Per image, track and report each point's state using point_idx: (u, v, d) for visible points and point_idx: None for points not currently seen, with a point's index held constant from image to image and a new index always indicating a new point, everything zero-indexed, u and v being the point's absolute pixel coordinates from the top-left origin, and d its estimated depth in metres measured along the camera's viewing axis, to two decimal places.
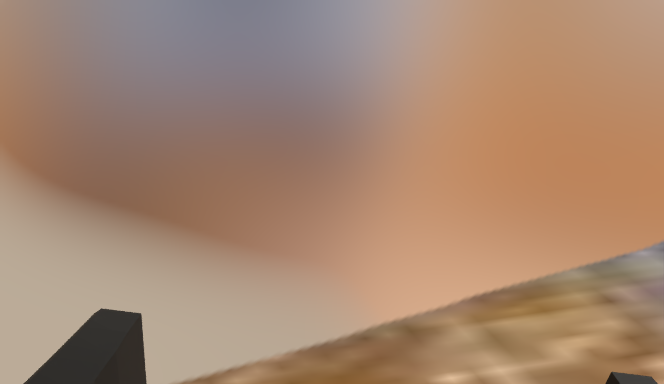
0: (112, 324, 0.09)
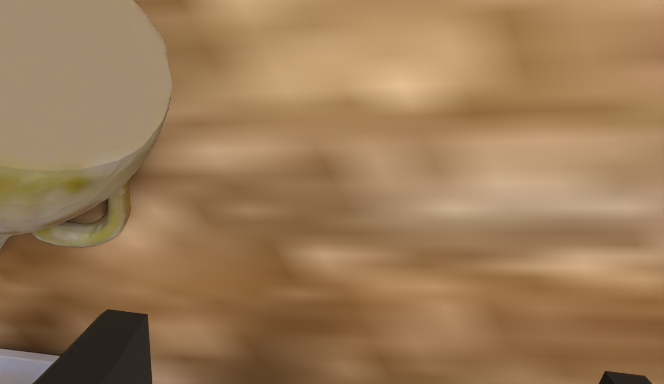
0: (118, 324, 0.09)
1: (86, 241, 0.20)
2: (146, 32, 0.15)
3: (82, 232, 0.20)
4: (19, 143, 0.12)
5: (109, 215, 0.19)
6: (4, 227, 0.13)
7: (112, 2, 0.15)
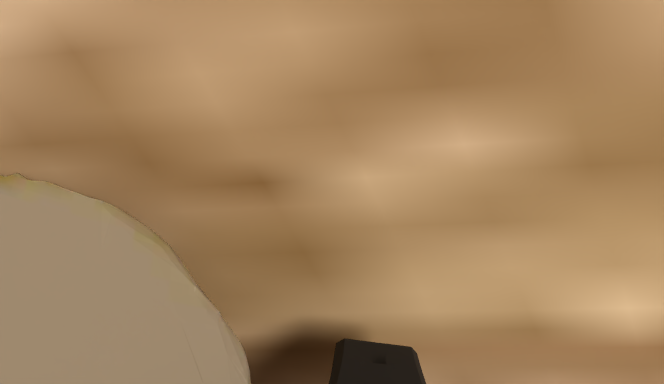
0: (365, 355, 0.09)
1: None
2: (218, 348, 0.09)
3: None
4: None
5: None
6: None
7: (163, 303, 0.09)
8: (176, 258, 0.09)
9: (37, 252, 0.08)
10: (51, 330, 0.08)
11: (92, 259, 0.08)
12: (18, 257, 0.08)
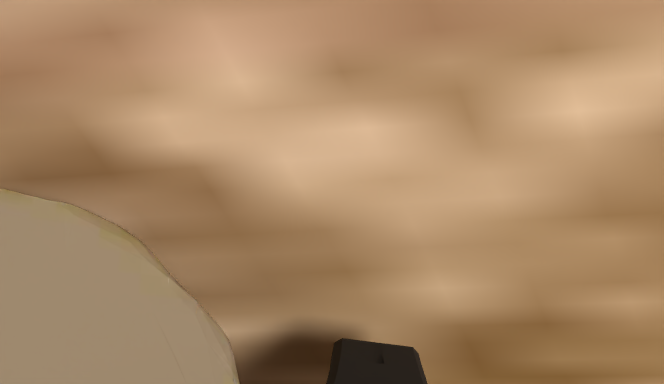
0: (363, 354, 0.09)
1: None
2: (197, 337, 0.09)
3: None
4: None
5: None
6: None
7: (135, 297, 0.09)
8: (148, 251, 0.09)
9: None
10: (14, 332, 0.08)
11: (56, 260, 0.08)
12: None
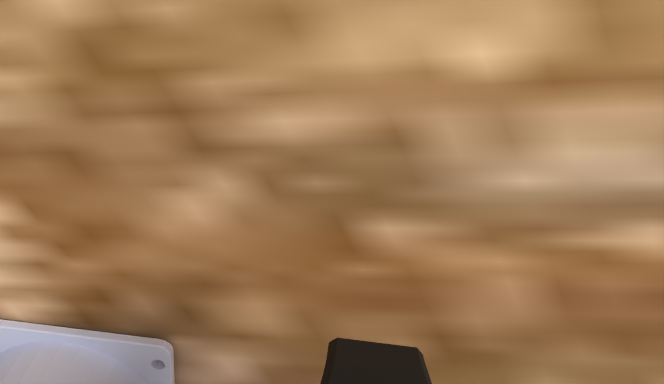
0: (358, 353, 0.09)
1: None
2: None
3: None
4: None
5: None
6: None
7: None
8: None
9: None
10: None
11: None
12: None
